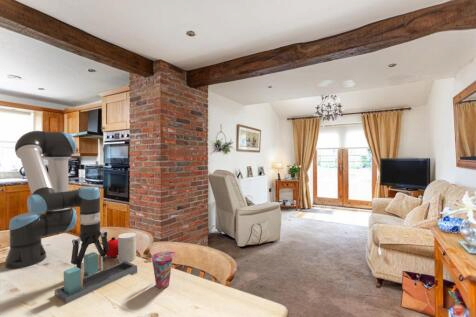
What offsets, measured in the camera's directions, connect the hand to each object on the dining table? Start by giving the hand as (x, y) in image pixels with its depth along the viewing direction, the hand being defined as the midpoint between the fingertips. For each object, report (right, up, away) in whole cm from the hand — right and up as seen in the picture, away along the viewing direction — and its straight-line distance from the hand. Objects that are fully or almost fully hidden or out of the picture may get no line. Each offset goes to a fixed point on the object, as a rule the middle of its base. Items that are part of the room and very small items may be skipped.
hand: (91, 274), depth 105 cm
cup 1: (+9, 0, +16) cm, 18 cm away
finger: (0, 0, 0) cm, 0 cm away
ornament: (0, 0, +18) cm, 18 cm away
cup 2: (+34, -1, -8) cm, 35 cm away
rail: (+8, 0, -8) cm, 11 cm away
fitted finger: (+3, 0, -16) cm, 16 cm away
